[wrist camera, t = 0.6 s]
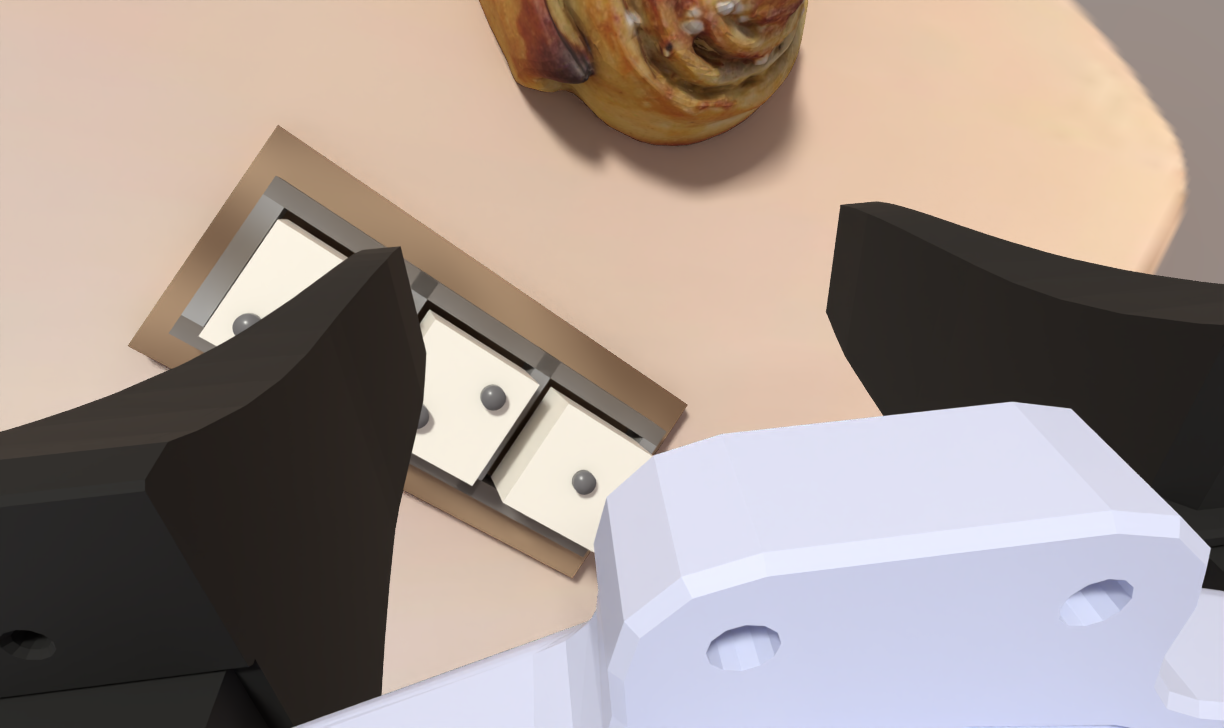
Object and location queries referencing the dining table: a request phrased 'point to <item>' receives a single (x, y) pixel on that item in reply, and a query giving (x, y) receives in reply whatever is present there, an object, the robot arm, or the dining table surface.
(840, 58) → the dining table surface
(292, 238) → the tile three
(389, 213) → the board
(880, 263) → the robot arm
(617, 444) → the tile one
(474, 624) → the dining table surface
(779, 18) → the pastry
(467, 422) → the tile two
